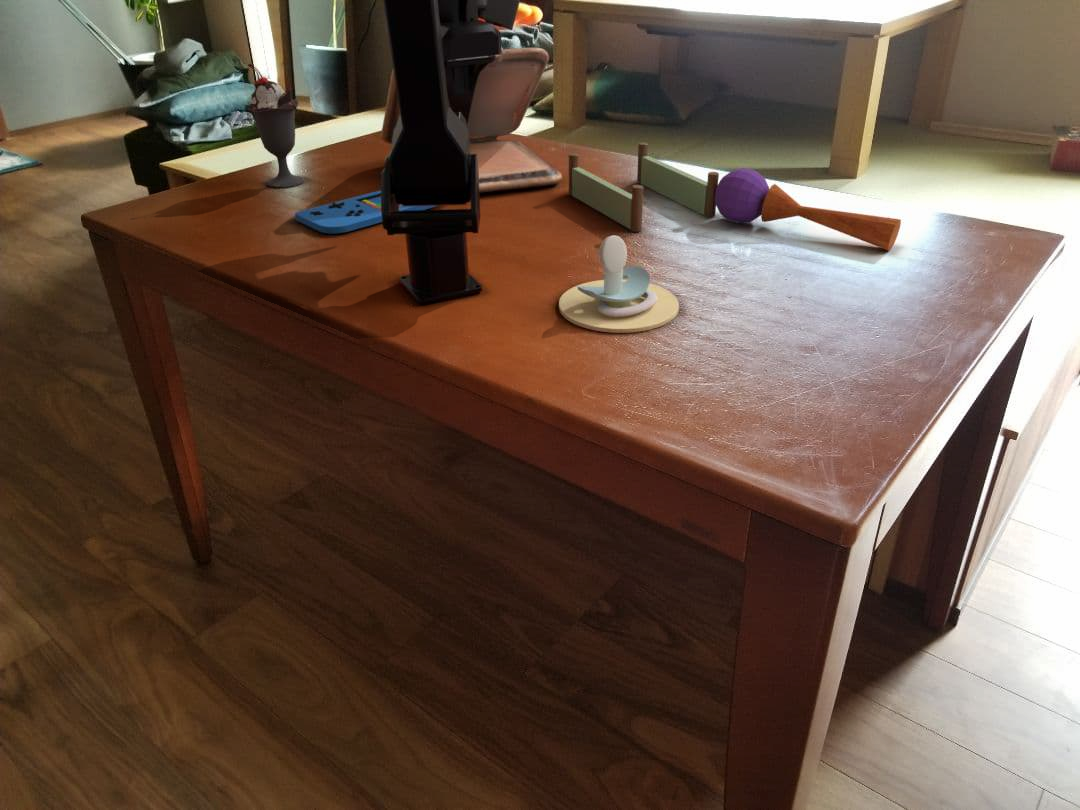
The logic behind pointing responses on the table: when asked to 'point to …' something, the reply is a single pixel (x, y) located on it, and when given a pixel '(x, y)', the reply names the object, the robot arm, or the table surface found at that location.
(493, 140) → the case
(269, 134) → the sundae
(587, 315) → the coaster
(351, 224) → the handheld gaming device
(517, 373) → the table surface
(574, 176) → the rack
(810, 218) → the kendama
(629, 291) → the pacifier
